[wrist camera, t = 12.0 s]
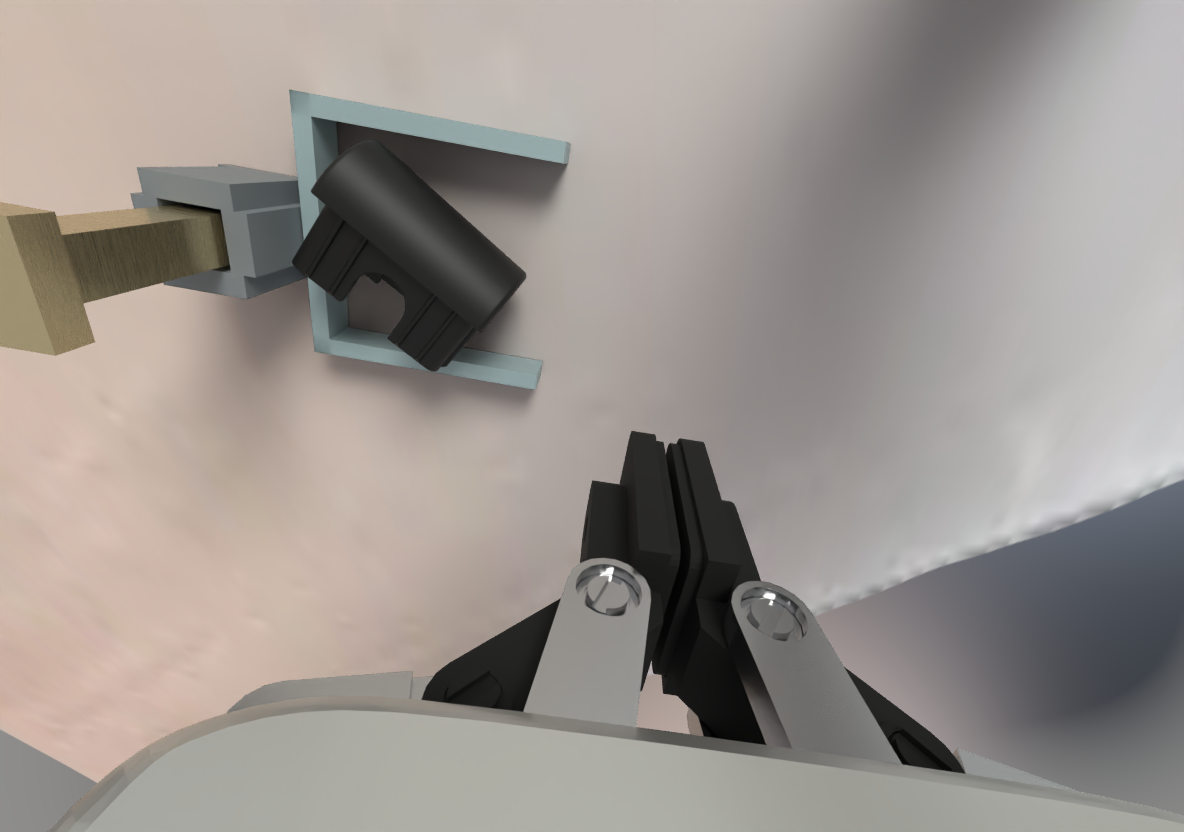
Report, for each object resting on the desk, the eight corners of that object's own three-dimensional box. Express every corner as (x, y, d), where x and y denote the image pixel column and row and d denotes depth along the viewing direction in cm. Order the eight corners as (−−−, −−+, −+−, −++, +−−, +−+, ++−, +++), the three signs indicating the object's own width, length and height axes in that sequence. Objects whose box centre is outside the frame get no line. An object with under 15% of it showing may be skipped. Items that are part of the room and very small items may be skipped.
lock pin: (152, 178, 24) (-149, 188, 14) (244, 195, 24) (6, 216, 15) (172, 271, 26) (-81, 332, 16) (257, 286, 26) (55, 355, 17)
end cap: (537, 264, 31) (517, 289, 25) (470, 344, 33) (437, 384, 27) (400, 139, 28) (340, 133, 22) (339, 237, 30) (269, 256, 24)
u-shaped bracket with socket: (214, 76, 27) (96, 51, 21) (570, 143, 27) (556, 138, 21) (252, 324, 33) (170, 360, 27) (540, 374, 34) (523, 421, 28)
